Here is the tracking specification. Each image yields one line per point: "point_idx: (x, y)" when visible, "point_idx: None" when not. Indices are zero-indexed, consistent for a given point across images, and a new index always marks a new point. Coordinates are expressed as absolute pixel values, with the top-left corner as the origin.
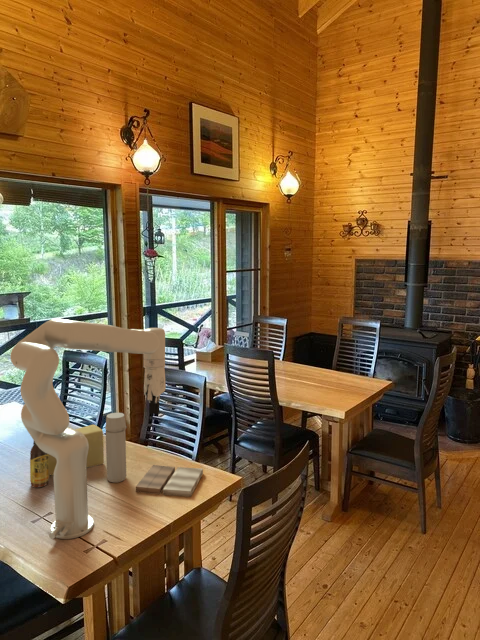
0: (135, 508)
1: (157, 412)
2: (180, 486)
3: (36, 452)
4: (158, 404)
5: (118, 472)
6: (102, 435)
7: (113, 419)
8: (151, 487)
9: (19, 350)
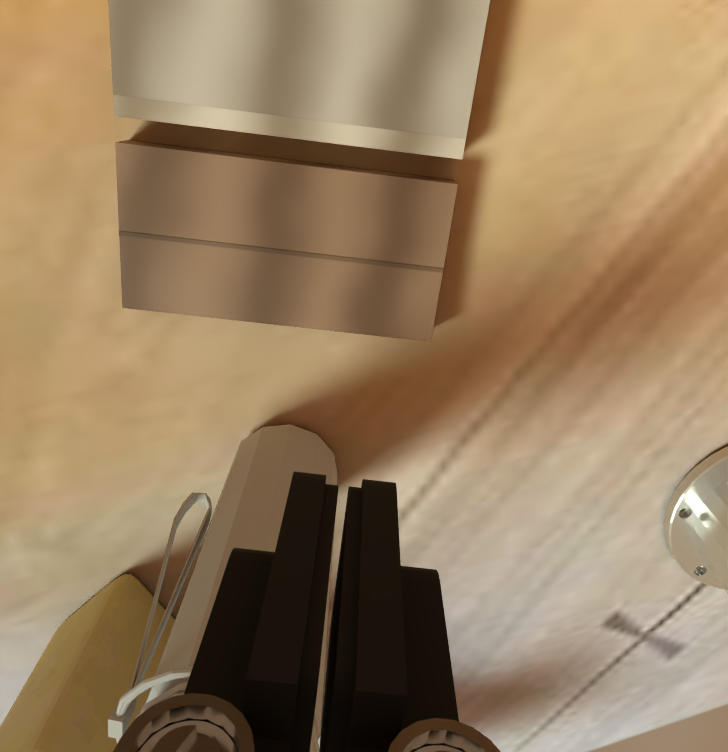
0: (612, 284)
1: (395, 500)
2: (427, 32)
3: None
4: (308, 629)
5: (326, 477)
6: (61, 722)
7: None
8: (439, 243)
9: None
